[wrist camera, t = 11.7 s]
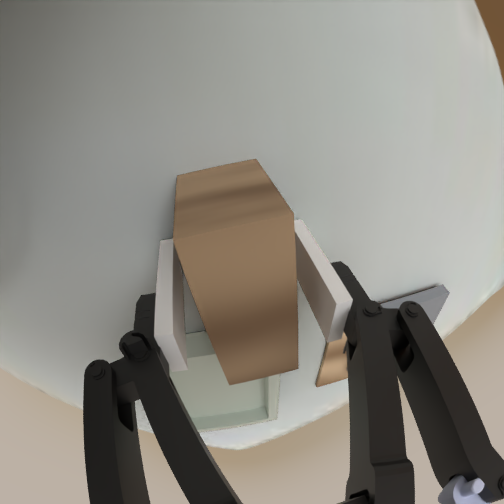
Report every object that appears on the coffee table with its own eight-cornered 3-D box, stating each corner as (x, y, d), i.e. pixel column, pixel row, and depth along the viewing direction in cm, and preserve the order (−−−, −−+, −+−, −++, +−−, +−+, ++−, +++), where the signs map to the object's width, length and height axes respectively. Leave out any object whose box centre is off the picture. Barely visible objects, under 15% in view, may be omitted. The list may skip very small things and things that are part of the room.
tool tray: (131, 340, 20) (129, 364, 18) (274, 318, 21) (282, 341, 20) (181, 417, 30) (182, 434, 28) (272, 403, 31) (277, 419, 29)
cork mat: (331, 325, 24) (332, 328, 23) (439, 292, 25) (442, 295, 25) (315, 384, 30) (316, 387, 30) (407, 353, 32) (408, 355, 32)
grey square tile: (375, 317, 22) (350, 377, 27) (449, 292, 23) (415, 353, 29) (368, 305, 23) (345, 368, 29) (442, 283, 24) (410, 344, 30)
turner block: (177, 174, 14) (173, 240, 9) (255, 158, 14) (293, 213, 9) (216, 310, 20) (229, 385, 15) (272, 297, 20) (298, 368, 16)
